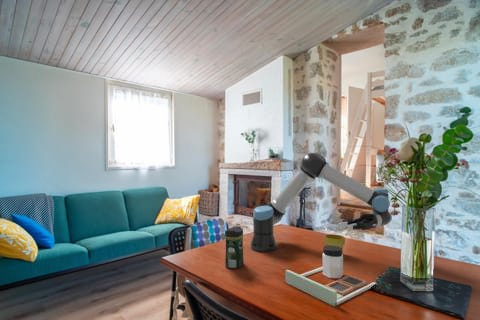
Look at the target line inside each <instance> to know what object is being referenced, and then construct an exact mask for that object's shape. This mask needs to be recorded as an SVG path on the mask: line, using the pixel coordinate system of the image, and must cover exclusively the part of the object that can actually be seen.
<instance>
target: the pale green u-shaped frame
mask: <svg viewBox="0 0 480 320" xmlns="http://www.w3.org/2000/svg"><path fill="white" fill-rule="evenodd" d="M321 271H323V266H321V267H318V268H315V269H312V270H309V271H306V272H303V273H301V274H298V273H297V272H295V271H292V270H289V269H285V275H284V277H285V278H284V279H285V283H286V284H288V285H289V286H291V287H294V288H296V289H298V290H300V291H303V292H304V293H307V294H308V295H311V296H312V297H314V298H316V299H318V300H319V301H320V300H321V301H323V302H325V303H327V304H328V305H330V306H333V307H336V306H338V305H340V304H342V303H344V302H345V301H347V300H350V299H352V298H353V297H356V296H358V295H360V294H361V293H363V292H365V291H368V290H369V289H371V287H372V286H373V285H375V284H376V285H377V282H375V281H373V282H371V283H369V284H367V280H364V279H361V278H359V277H355V276H353V275H350V274H349V275H346V276H344V277H343V276H342V277H341V278H338V279H337V280H335V281H332V282H330V283H328V284H325V285H324V284H322V283H319V282H317V281H314V280H312V279H310V278H308V277H307V276H311V275H313V274H316V273H319V272H321ZM372 288H373V287H372Z"/></svg>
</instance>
